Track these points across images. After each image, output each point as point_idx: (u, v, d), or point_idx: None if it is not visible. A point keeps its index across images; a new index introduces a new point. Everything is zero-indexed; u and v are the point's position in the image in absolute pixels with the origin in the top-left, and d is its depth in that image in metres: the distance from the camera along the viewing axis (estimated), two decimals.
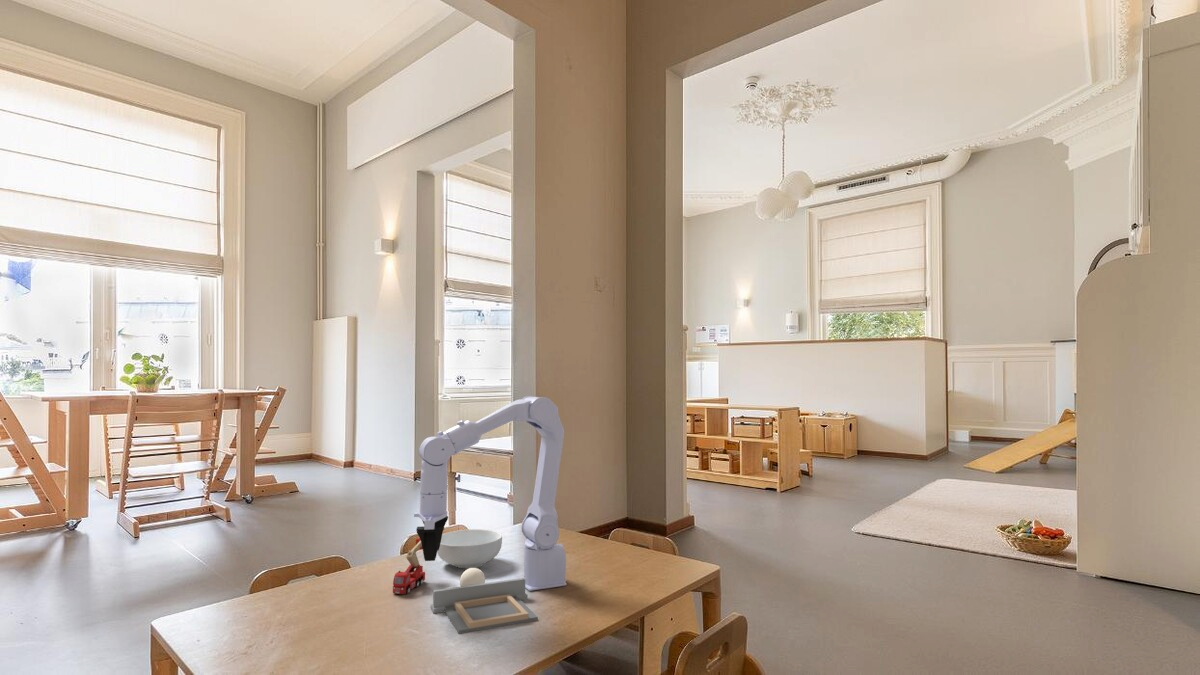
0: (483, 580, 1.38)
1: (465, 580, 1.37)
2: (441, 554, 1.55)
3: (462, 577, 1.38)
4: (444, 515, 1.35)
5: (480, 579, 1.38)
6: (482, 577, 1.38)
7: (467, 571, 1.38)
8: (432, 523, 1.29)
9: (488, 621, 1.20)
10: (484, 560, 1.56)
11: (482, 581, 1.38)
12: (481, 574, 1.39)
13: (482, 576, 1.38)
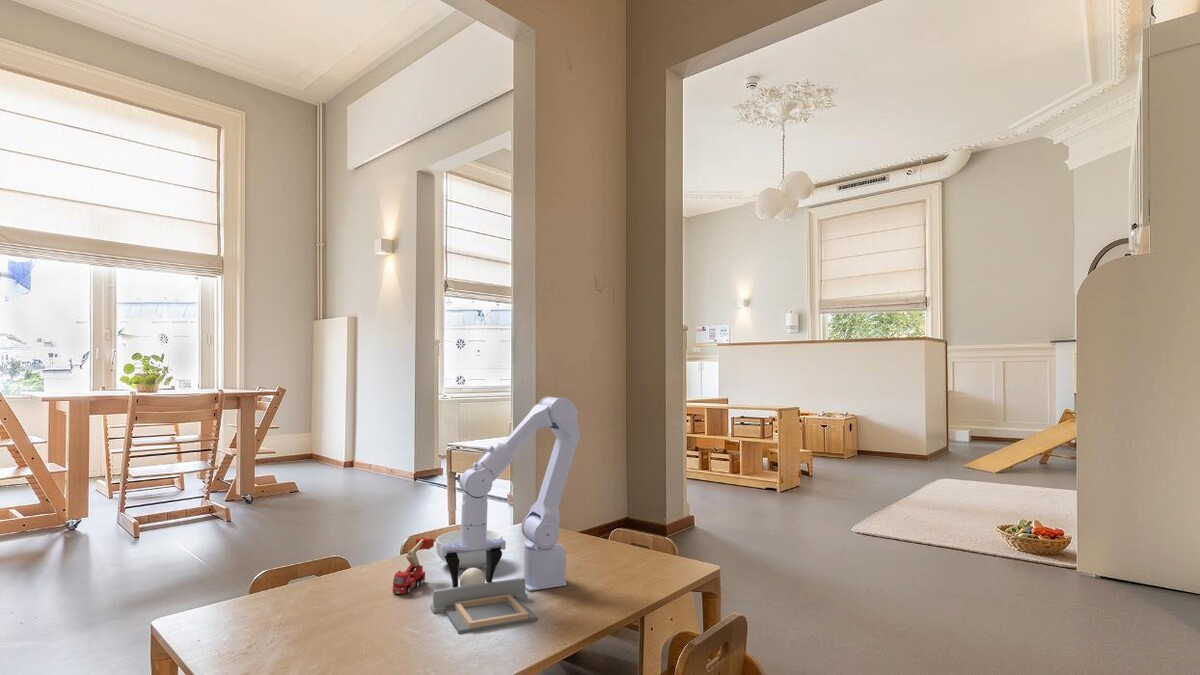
0: (483, 580, 1.38)
1: (465, 580, 1.37)
2: None
3: (462, 577, 1.38)
4: (468, 548, 1.37)
5: (480, 579, 1.38)
6: (482, 577, 1.38)
7: (467, 571, 1.38)
8: (441, 550, 1.36)
9: (488, 621, 1.20)
10: (484, 560, 1.56)
11: (482, 581, 1.38)
12: (481, 574, 1.39)
13: (482, 576, 1.38)
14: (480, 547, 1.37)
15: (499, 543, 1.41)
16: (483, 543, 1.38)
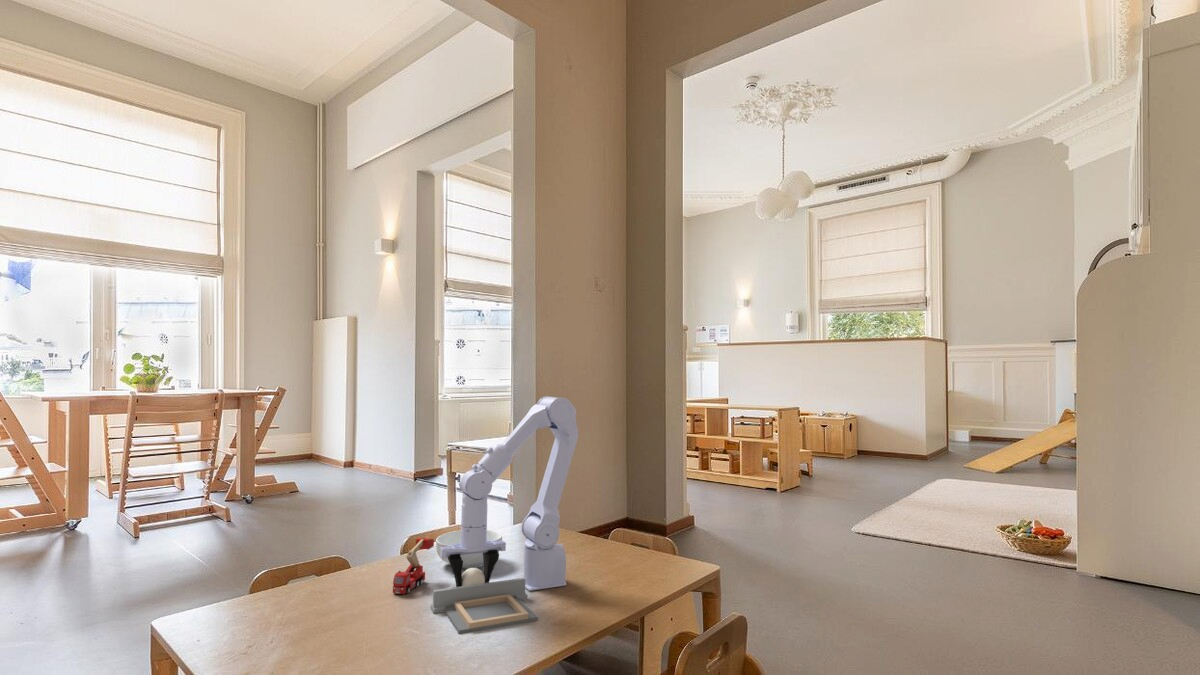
0: (483, 580, 1.38)
1: (465, 580, 1.37)
2: None
3: (462, 577, 1.38)
4: (468, 549, 1.37)
5: (480, 579, 1.38)
6: (482, 577, 1.38)
7: (467, 571, 1.38)
8: (441, 552, 1.36)
9: (488, 621, 1.20)
10: None
11: (482, 581, 1.38)
12: (481, 574, 1.39)
13: (482, 576, 1.38)
14: (480, 549, 1.37)
15: (499, 545, 1.41)
16: (483, 545, 1.38)
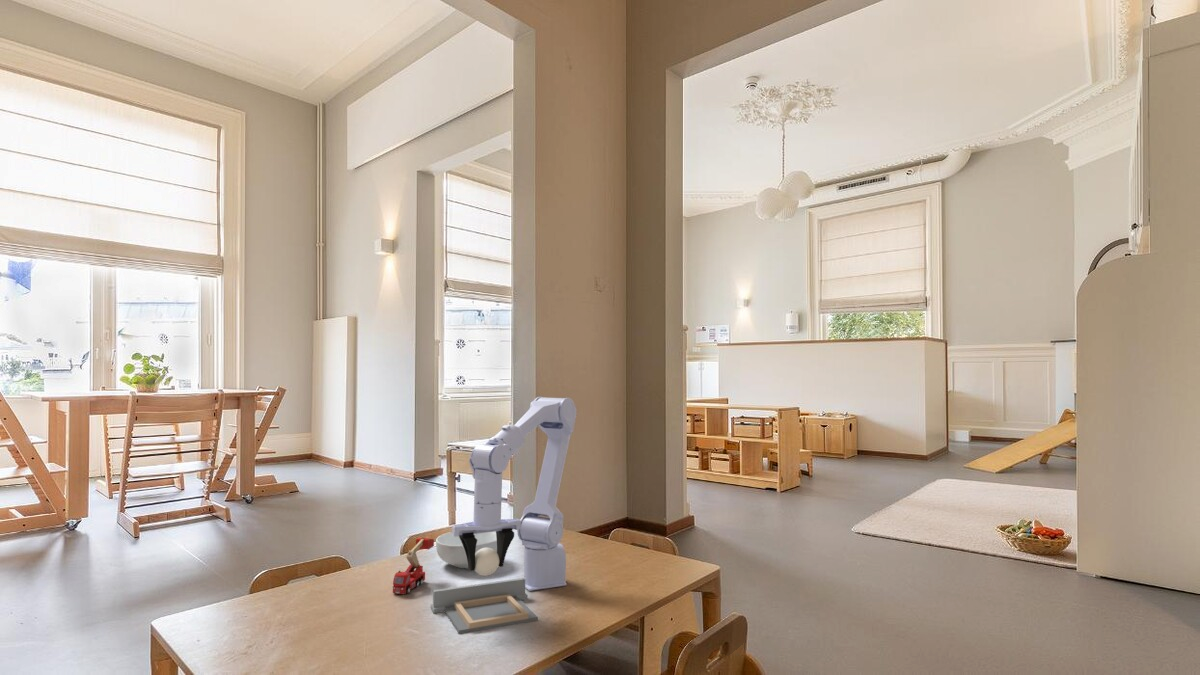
0: (497, 560, 1.30)
1: (478, 560, 1.28)
2: (441, 554, 1.55)
3: (475, 557, 1.29)
4: (482, 527, 1.28)
5: (495, 559, 1.29)
6: (496, 557, 1.30)
7: (480, 551, 1.30)
8: (454, 530, 1.27)
9: (488, 621, 1.20)
10: None
11: (496, 561, 1.29)
12: (495, 554, 1.30)
13: (496, 556, 1.30)
14: (495, 527, 1.29)
15: (514, 523, 1.33)
16: (498, 523, 1.30)
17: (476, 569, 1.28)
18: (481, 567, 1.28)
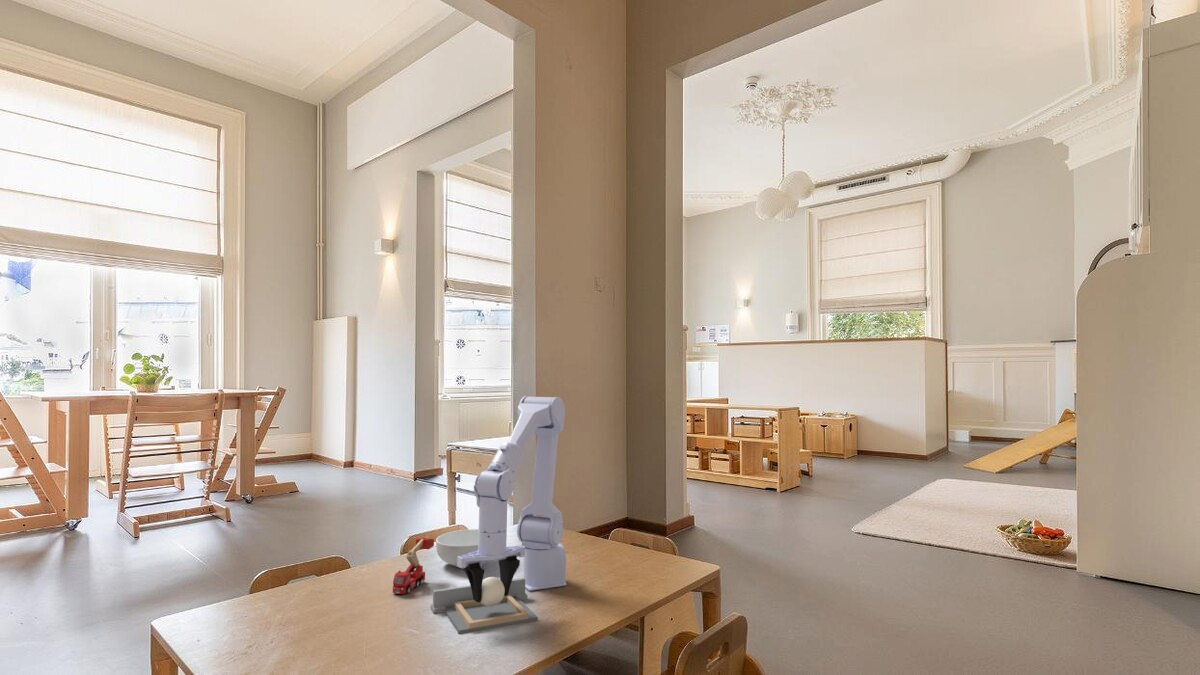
0: (503, 590, 1.26)
1: (485, 591, 1.24)
2: (441, 554, 1.55)
3: None
4: (490, 557, 1.24)
5: (501, 588, 1.26)
6: (502, 586, 1.26)
7: (486, 581, 1.26)
8: (460, 561, 1.22)
9: (488, 621, 1.20)
10: None
11: (503, 591, 1.26)
12: (501, 583, 1.27)
13: (502, 585, 1.27)
14: (502, 556, 1.25)
15: (519, 550, 1.30)
16: (504, 551, 1.26)
17: (482, 600, 1.24)
18: (488, 598, 1.24)
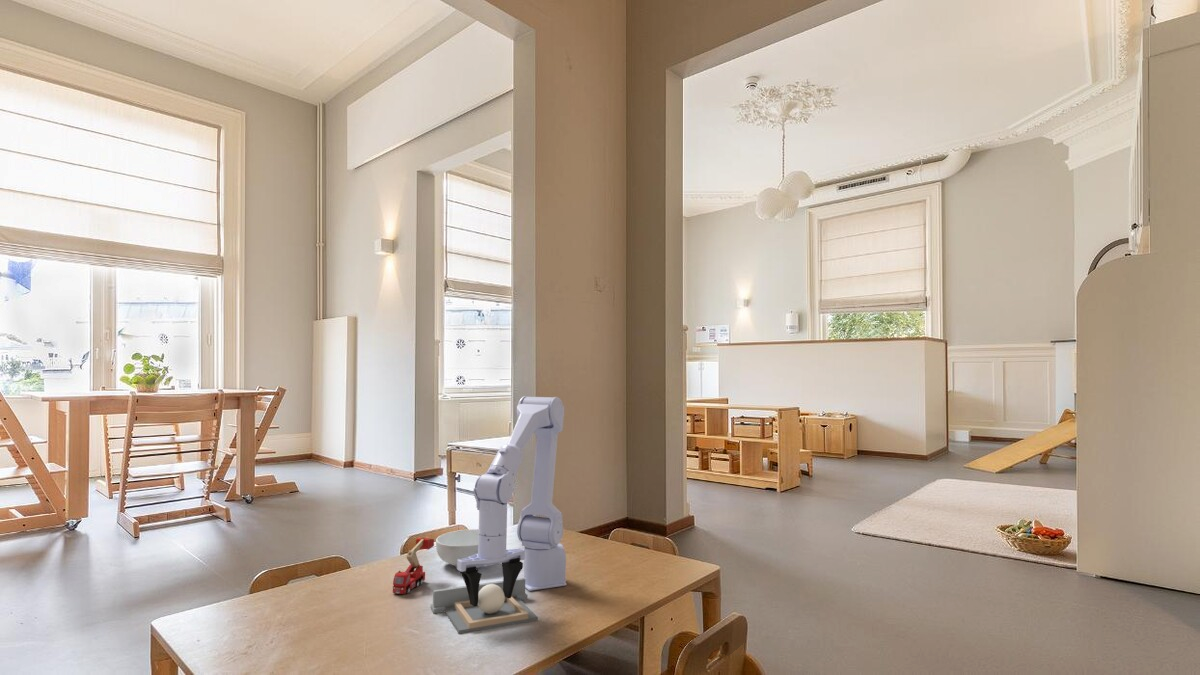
0: (503, 597, 1.26)
1: (485, 598, 1.24)
2: (441, 554, 1.55)
3: (481, 595, 1.25)
4: (490, 560, 1.24)
5: (501, 596, 1.26)
6: (502, 594, 1.26)
7: (486, 588, 1.26)
8: (460, 565, 1.22)
9: (488, 621, 1.20)
10: None
11: (503, 598, 1.26)
12: (501, 590, 1.27)
13: (502, 593, 1.27)
14: (502, 559, 1.25)
15: (519, 553, 1.30)
16: (504, 554, 1.26)
17: (482, 608, 1.24)
18: (488, 606, 1.24)
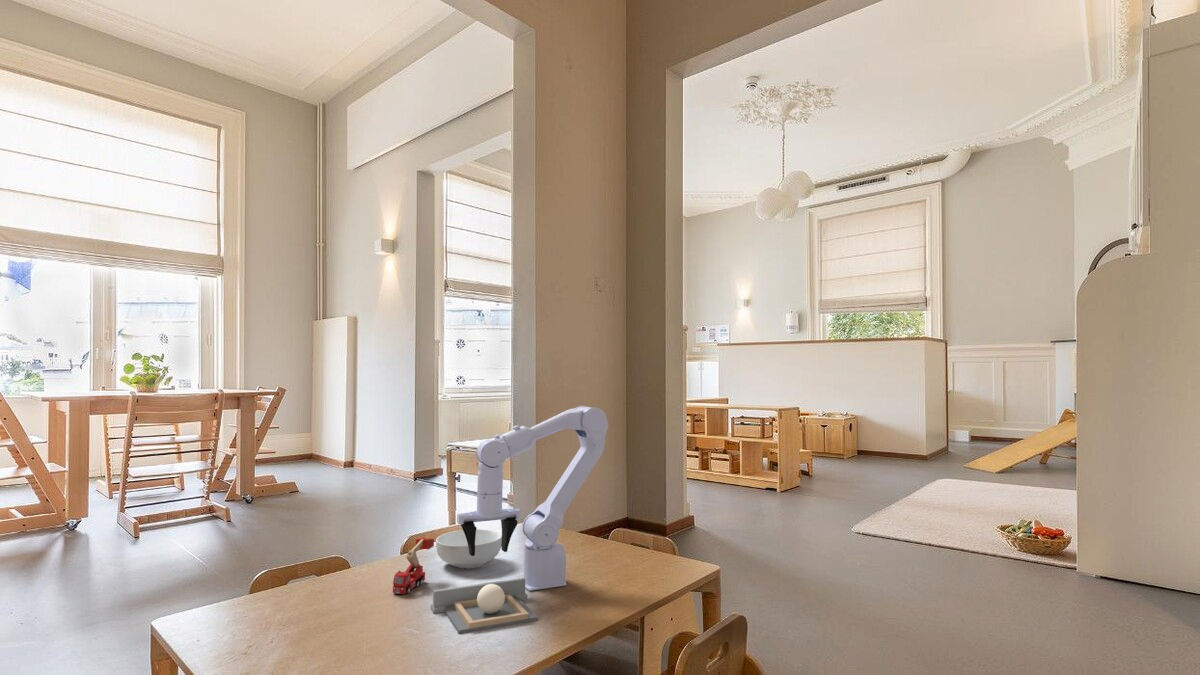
0: (504, 597, 1.26)
1: (485, 598, 1.24)
2: (441, 554, 1.55)
3: (481, 595, 1.25)
4: (485, 516, 1.39)
5: (501, 596, 1.26)
6: (503, 594, 1.26)
7: (486, 588, 1.26)
8: (458, 518, 1.39)
9: (488, 621, 1.20)
10: (484, 560, 1.56)
11: (503, 598, 1.26)
12: (501, 591, 1.27)
13: (502, 593, 1.27)
14: (496, 515, 1.40)
15: (514, 512, 1.44)
16: (499, 512, 1.41)
17: (482, 607, 1.24)
18: (488, 606, 1.24)
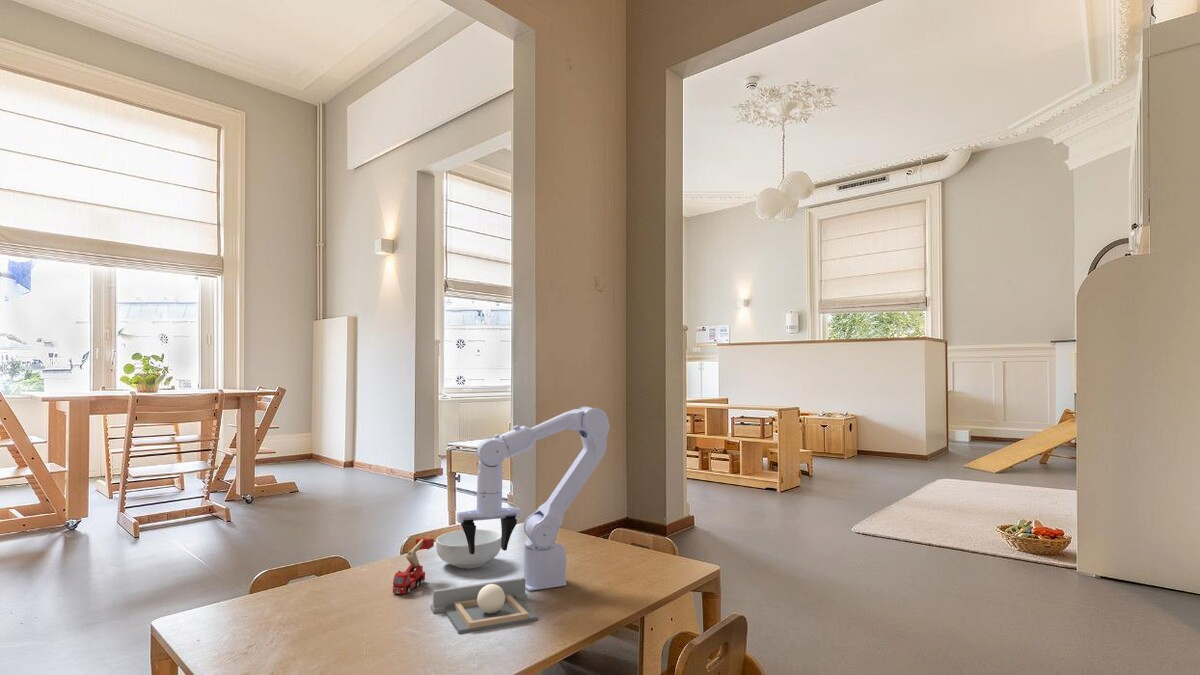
0: (504, 597, 1.26)
1: (485, 598, 1.24)
2: (441, 554, 1.55)
3: (481, 595, 1.25)
4: (484, 515, 1.41)
5: (501, 596, 1.26)
6: (503, 594, 1.26)
7: (486, 588, 1.26)
8: (458, 517, 1.40)
9: (488, 621, 1.20)
10: (484, 560, 1.56)
11: (503, 598, 1.26)
12: (502, 591, 1.27)
13: (503, 593, 1.27)
14: (496, 514, 1.41)
15: (514, 511, 1.45)
16: (498, 511, 1.42)
17: (482, 607, 1.24)
18: (488, 606, 1.24)
